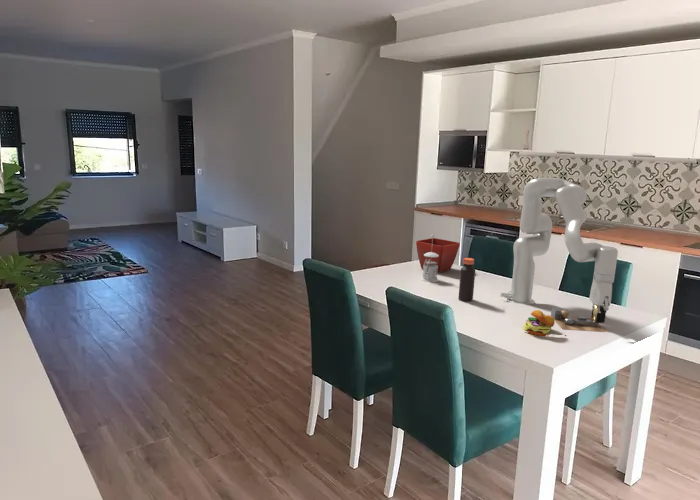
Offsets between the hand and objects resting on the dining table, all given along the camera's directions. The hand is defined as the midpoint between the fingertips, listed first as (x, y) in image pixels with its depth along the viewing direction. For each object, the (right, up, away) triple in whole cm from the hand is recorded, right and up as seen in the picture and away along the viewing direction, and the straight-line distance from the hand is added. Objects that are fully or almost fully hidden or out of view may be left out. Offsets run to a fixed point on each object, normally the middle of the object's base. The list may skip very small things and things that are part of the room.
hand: (597, 319), depth 208 cm
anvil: (-14, 0, +9) cm, 16 cm away
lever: (-6, -2, +1) cm, 6 cm away
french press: (-59, +12, +69) cm, 91 cm away
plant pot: (-50, +17, +94) cm, 108 cm away
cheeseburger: (-27, -4, -6) cm, 28 cm away
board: (-7, -3, +3) cm, 8 cm away
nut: (-10, -1, +9) cm, 13 cm away
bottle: (-46, +5, +35) cm, 58 cm away
